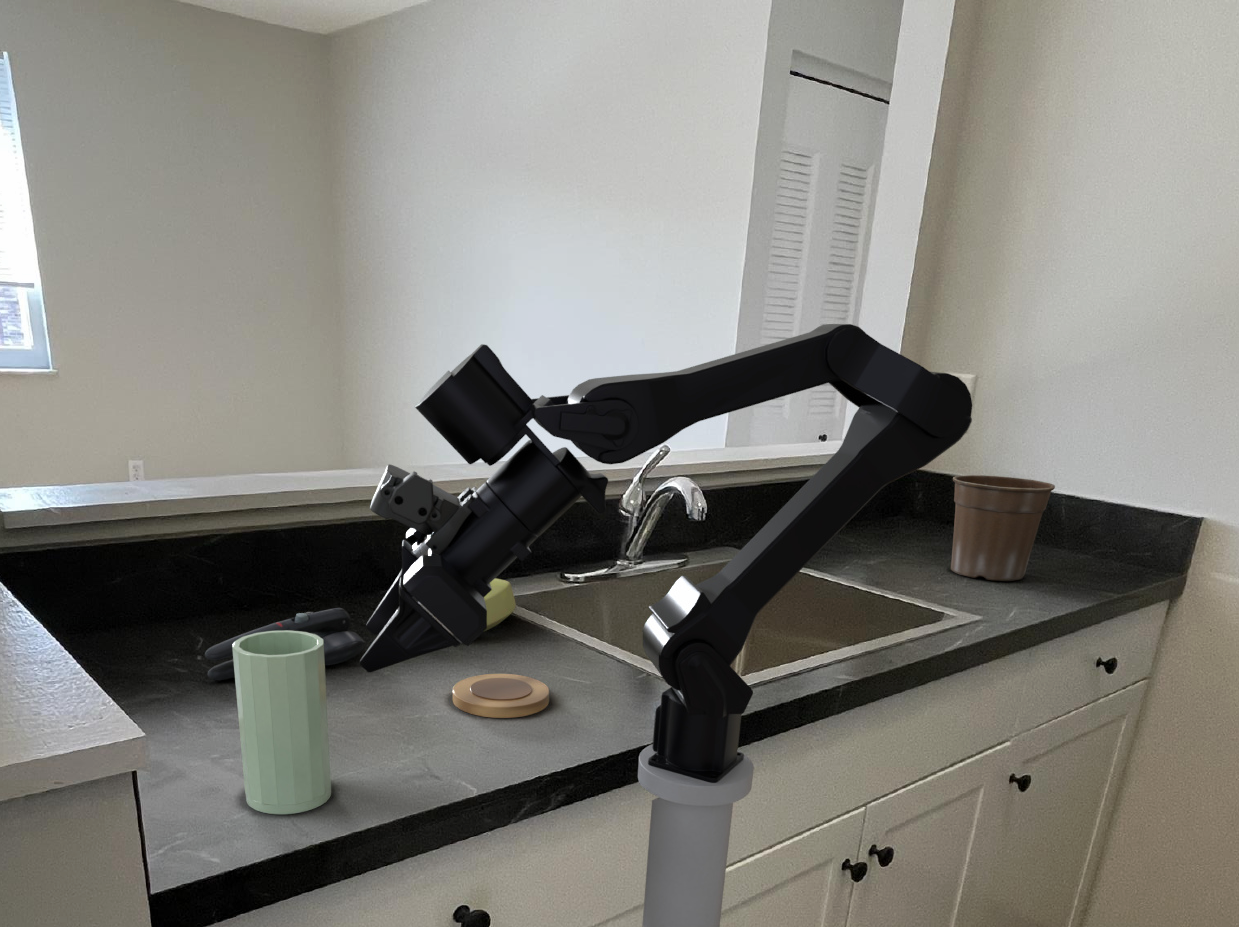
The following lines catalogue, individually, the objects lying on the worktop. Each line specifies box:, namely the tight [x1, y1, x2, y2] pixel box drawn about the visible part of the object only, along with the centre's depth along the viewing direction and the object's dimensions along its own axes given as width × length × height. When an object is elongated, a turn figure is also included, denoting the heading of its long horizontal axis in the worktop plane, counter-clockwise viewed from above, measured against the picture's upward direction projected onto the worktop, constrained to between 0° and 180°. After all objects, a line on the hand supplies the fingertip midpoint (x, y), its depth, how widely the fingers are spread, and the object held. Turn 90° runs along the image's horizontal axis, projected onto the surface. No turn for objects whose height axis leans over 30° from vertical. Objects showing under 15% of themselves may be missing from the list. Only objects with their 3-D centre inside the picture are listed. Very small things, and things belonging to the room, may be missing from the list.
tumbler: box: [232, 630, 332, 815], centre depth 77 cm, size 7×7×13 cm
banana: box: [484, 577, 517, 632], centre depth 126 cm, size 14×6×20 cm
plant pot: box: [950, 474, 1056, 582], centre depth 168 cm, size 16×16×16 cm
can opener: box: [204, 607, 367, 682], centre depth 107 cm, size 18×7×6 cm, turn 134°
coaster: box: [452, 673, 550, 719], centre depth 101 cm, size 10×10×1 cm
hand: (366, 648), depth 76 cm, fingers open, 9 cm apart
